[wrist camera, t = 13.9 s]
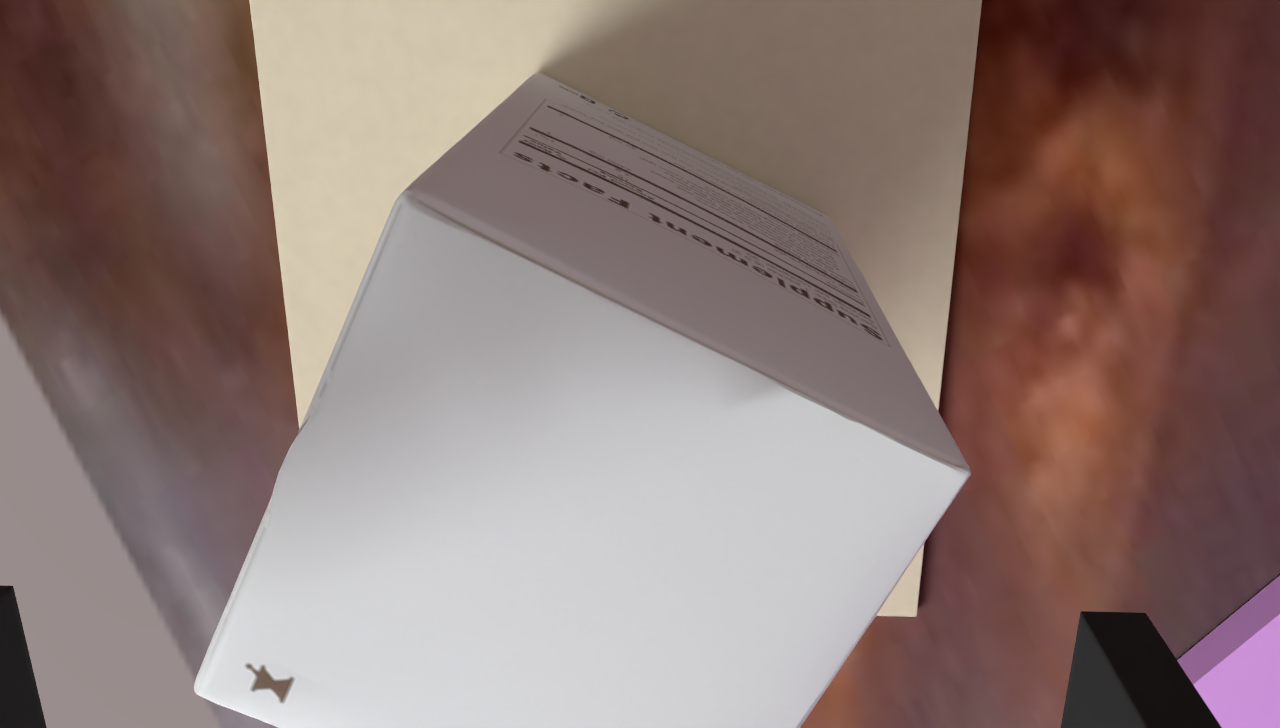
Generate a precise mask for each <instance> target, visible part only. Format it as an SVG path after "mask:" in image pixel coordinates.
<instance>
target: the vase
mask: <svg viewBox="0 0 1280 728" xmlns="http://www.w3.org/2000/svg"><path fill="white" fill-rule="evenodd" d="M1177 661H1178V663H1179V664H1180V666H1181V667H1182V669H1183V670H1184V672H1185V673H1186V675H1187V676H1188V678H1189V679H1190V681H1191V682H1192V684H1193V685H1194V687H1195V688H1196V690H1197V691H1198V693H1199V694H1200V696H1201V697H1202V699H1203V700H1204V702H1205V703H1206V705H1207V706H1208V708H1209V709H1210V711H1211V712H1212V714H1213V715H1214V717H1215V718H1216V720H1217V721H1218V723H1219V724H1220V726H1221V727H1222V728H1280V575H1279V576H1278V577H1277V578H1276V579H1275V580H1273V581H1272V582H1271V583H1270V584H1269V585H1267V586H1266V587H1265V588H1264V589H1263V590H1261V591H1260V592H1259V593H1258V594H1256V595H1255V596H1254V597H1253V598H1252V599H1250V600H1249V601H1248V602H1247V603H1246V604H1244V605H1243V606H1242V607H1241V608H1240V609H1238V610H1237V611H1236V612H1235V613H1234V614H1232V615H1231V616H1230V617H1229V618H1228V619H1226V620H1225V621H1224V622H1223V623H1221V624H1220V625H1219V626H1218V627H1217V628H1215V629H1214V630H1213V631H1212V632H1211V633H1209V634H1208V635H1207V636H1206V637H1205V638H1203V639H1202V640H1201V641H1200V642H1199V643H1197V644H1196V645H1195V646H1194V647H1192V648H1191V649H1190V650H1189V651H1188V652H1186V653H1185V654H1184V655H1183V656H1182V657H1180V658H1179V659H1178V660H1177Z"/></svg>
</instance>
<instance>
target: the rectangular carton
mask: <svg viewBox="0 0 1280 728" xmlns="http://www.w3.org/2000/svg"><path fill="white" fill-rule="evenodd" d="M970 475H971V473H970V468H969V466H968V465H967V463H966V461H965V460H964V458H963V456H962V454H961V452H960V450H959V448H958V447H957V445H956V443H955V441H954V439H953V438H952V436H951V434H950V432H949V430H948V429H947V427H946V425H945V423H944V421H943V419H942V418H941V416H940V414H939V412H938V410H937V409H936V407H935V405H934V403H933V401H932V399H931V398H930V396H929V394H928V392H927V391H926V389H925V387H924V385H923V383H922V382H921V380H920V378H919V376H918V375H917V373H916V371H915V369H914V367H913V365H912V364H911V362H910V360H909V358H908V357H907V355H906V353H905V351H904V349H903V348H902V346H901V344H900V342H899V340H898V339H897V337H896V335H895V333H894V331H893V330H892V328H891V326H890V324H889V322H888V320H887V318H886V317H885V315H884V313H883V311H882V309H881V308H880V306H879V304H878V302H877V300H876V299H875V297H874V295H873V293H872V291H871V290H870V288H869V286H868V284H867V282H866V280H865V279H864V277H863V275H862V273H861V271H860V270H859V268H858V266H857V264H856V263H855V261H854V259H853V257H852V255H851V253H850V252H849V250H848V248H847V246H846V244H845V243H844V241H843V239H842V238H841V236H840V234H839V232H838V230H837V228H836V226H835V224H834V222H833V221H832V219H831V218H829V217H828V216H827V215H825V214H823V213H821V212H819V211H817V210H815V209H813V208H811V207H809V206H807V205H805V204H804V203H802V202H800V201H798V200H796V199H794V198H792V197H789V196H787V195H785V194H783V193H781V192H779V191H777V190H775V189H773V188H771V187H769V186H767V185H765V184H763V183H761V182H759V181H757V180H755V179H753V178H751V177H749V176H747V175H745V174H743V173H741V172H739V171H737V170H735V169H733V168H731V167H729V166H727V165H725V164H723V163H721V162H719V161H717V160H715V159H713V158H711V157H709V156H707V155H705V154H703V153H701V152H699V151H697V150H695V149H693V148H691V147H689V146H687V145H685V144H683V143H681V142H679V141H677V140H675V139H673V138H671V137H669V136H667V135H665V134H663V133H661V132H659V131H657V130H655V129H653V128H651V127H649V126H647V125H645V124H643V123H641V122H639V121H637V120H635V119H633V118H631V117H629V116H627V115H625V114H623V113H621V112H619V111H617V110H615V109H613V108H611V107H609V106H607V105H605V104H603V103H601V102H599V101H597V100H595V99H593V98H591V97H589V96H587V95H585V94H583V93H581V92H579V91H577V90H575V89H573V88H571V87H569V86H567V85H565V84H563V83H561V82H559V81H556V80H554V79H552V78H550V77H548V76H546V75H544V74H542V73H535V74H534V75H532V76H531V77H529V78H528V79H527V80H526V81H525V82H524V83H523V84H522V85H520V86H519V87H518V88H517V89H516V90H515V91H514V92H513V93H512V94H511V95H510V96H509V97H508V98H506V99H505V100H504V101H503V102H502V103H501V104H500V105H498V106H497V107H496V108H495V109H494V110H493V111H492V112H491V113H490V114H488V115H487V116H486V117H485V118H484V119H483V120H482V121H481V122H480V123H478V124H477V125H476V126H475V127H474V128H473V129H472V130H471V131H470V132H468V133H467V134H466V135H465V136H464V137H463V138H462V139H461V140H460V141H458V142H457V143H456V144H455V145H454V146H453V147H451V148H450V149H449V150H448V151H447V152H446V153H445V154H443V155H442V156H441V157H440V158H439V159H438V160H437V161H436V162H435V163H434V164H432V165H431V166H430V167H429V168H428V169H427V170H426V171H424V172H423V173H422V174H421V175H420V176H419V177H418V178H417V179H416V180H415V181H413V182H412V183H411V184H410V185H409V186H408V187H407V188H406V189H405V190H404V191H403V192H402V193H401V194H400V195H399V197H398V198H397V200H396V201H395V203H394V205H393V207H392V210H391V212H390V214H389V216H388V219H387V221H386V223H385V226H384V228H383V231H382V233H381V235H380V238H379V240H378V243H377V245H376V248H375V250H374V252H373V255H372V257H371V260H370V262H369V264H368V267H367V269H366V272H365V274H364V276H363V279H362V281H361V284H360V286H359V289H358V291H357V293H356V296H355V298H354V301H353V303H352V305H351V308H350V310H349V313H348V315H347V317H346V320H345V322H344V325H343V327H342V329H341V332H340V334H339V337H338V339H337V341H336V344H335V346H334V349H333V351H332V353H331V356H330V358H329V361H328V363H327V365H326V368H325V370H324V372H323V375H322V377H321V380H320V382H319V384H318V387H317V389H316V392H315V394H314V396H313V399H312V401H311V404H310V406H309V408H308V411H307V413H306V416H305V418H304V420H303V423H302V425H301V427H300V430H299V432H298V434H297V437H296V438H295V440H294V442H293V443H292V445H291V447H290V449H289V451H288V453H287V455H286V458H285V460H284V462H283V464H282V466H281V469H280V471H279V473H278V477H277V480H276V484H275V487H274V490H273V494H272V497H271V499H270V502H269V504H268V507H267V509H266V511H265V514H264V516H263V519H262V521H261V523H260V526H259V528H258V531H257V533H256V536H255V538H254V540H253V543H252V545H251V548H250V550H249V552H248V555H247V557H246V560H245V562H244V564H243V567H242V569H241V572H240V574H239V577H238V579H237V581H236V584H235V586H234V589H233V591H232V594H231V596H230V598H229V601H228V603H227V605H226V608H225V610H224V612H223V615H222V617H221V619H220V621H219V624H218V626H217V628H216V631H215V633H214V636H213V638H212V641H211V643H210V645H209V648H208V650H207V653H206V655H205V658H204V660H203V663H202V665H201V668H200V670H199V672H198V675H197V678H196V681H195V685H194V690H195V692H196V694H197V695H199V696H201V697H203V698H205V699H208V700H210V701H212V702H214V703H216V704H219V705H221V706H224V707H227V708H229V709H232V710H235V711H237V712H240V713H243V714H245V715H248V716H251V717H253V718H256V719H258V720H261V721H264V722H266V723H269V724H271V725H274V726H276V727H279V728H800V727H801V726H802V724H803V723H804V721H805V720H806V718H807V717H808V715H809V714H810V712H811V711H812V709H813V708H814V706H815V705H816V703H817V702H818V701H819V699H820V698H821V696H822V695H823V693H824V692H825V690H826V689H827V687H828V686H829V684H830V683H831V681H832V680H833V678H834V677H835V675H836V674H837V672H838V671H839V669H840V668H841V667H842V665H843V664H844V662H845V661H846V659H847V658H848V656H849V655H850V653H851V652H852V650H853V649H854V647H855V646H856V644H857V643H858V641H859V640H860V638H861V637H862V636H863V634H864V633H865V631H866V630H867V628H868V627H869V625H870V624H871V622H872V621H873V619H874V618H875V616H876V615H877V613H878V612H879V610H880V609H881V607H882V606H883V604H884V603H885V601H886V600H887V598H888V597H889V595H890V594H891V592H892V591H893V589H894V588H895V586H896V585H897V583H898V582H899V580H900V579H901V577H902V576H903V574H904V573H905V571H906V569H907V568H908V566H909V565H910V563H911V562H912V560H913V559H914V557H915V556H916V554H917V553H918V551H919V550H920V548H921V547H922V545H923V544H924V542H925V541H926V539H927V538H928V536H929V535H930V533H931V532H932V530H933V529H934V528H935V526H936V525H937V523H938V522H939V520H940V519H941V517H942V516H943V514H944V513H945V511H946V510H947V508H948V507H949V505H950V504H951V502H952V501H953V500H954V498H955V497H956V495H957V494H958V492H959V491H960V489H961V488H962V487H963V485H964V484H965V482H966V481H967V479H968V478H969V476H970Z"/></svg>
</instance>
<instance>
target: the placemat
mask: <svg viewBox="0 0 1280 728" xmlns="http://www.w3.org/2000/svg"><path fill="white" fill-rule="evenodd" d="M981 6H982V0H250V8H251V17H252V25H253V34H254V42H255V51H256V60H257V68H258V77H259V85H260V94H261V103H262V111H263V120H264V128H265V137H266V146H267V154H268V163H269V171H270V180H271V189H272V197H273V206H274V214H275V223H276V232H277V240H278V249H279V257H280V266H281V275H282V283H283V292H284V300H285V309H286V318H287V326H288V335H289V344H290V352H291V361H292V369H293V378H294V387H295V395H296V404H297V412H298V421H299V430H300V427H301V425H302V423H303V420H304V418H305V416H306V413H307V411H308V408H309V406H310V404H311V401H312V399H313V396H314V394H315V392H316V389H317V387H318V384H319V382H320V380H321V377H322V375H323V372H324V370H325V368H326V365H327V363H328V361H329V358H330V356H331V353H332V351H333V349H334V346H335V344H336V341H337V339H338V337H339V334H340V332H341V329H342V327H343V325H344V322H345V320H346V317H347V315H348V313H349V310H350V308H351V305H352V303H353V301H354V298H355V296H356V293H357V291H358V289H359V286H360V284H361V281H362V279H363V276H364V274H365V272H366V269H367V267H368V264H369V262H370V260H371V257H372V255H373V252H374V250H375V248H376V245H377V243H378V240H379V238H380V235H381V233H382V231H383V228H384V226H385V223H386V221H387V219H388V216H389V214H390V212H391V210H392V207H393V205H394V203H395V201H396V200H397V198H398V197H399V195H400V194H401V193H402V192H403V191H404V190H405V189H406V188H407V187H408V186H409V185H410V184H411V183H412V182H413V181H415V180H416V179H417V178H418V177H419V176H420V175H421V174H422V173H423V172H424V171H426V170H427V169H428V168H429V167H430V166H431V165H432V164H434V163H435V162H436V161H437V160H438V159H439V158H440V157H441V156H442V155H443V154H445V153H446V152H447V151H448V150H449V149H450V148H451V147H453V146H454V145H455V144H456V143H457V142H458V141H460V140H461V139H462V138H463V137H464V136H465V135H466V134H467V133H468V132H470V131H471V130H472V129H473V128H474V127H475V126H476V125H477V124H478V123H480V122H481V121H482V120H483V119H484V118H485V117H486V116H487V115H488V114H490V113H491V112H492V111H493V110H494V109H495V108H496V107H497V106H498V105H500V104H501V103H502V102H503V101H504V100H505V99H506V98H508V97H509V96H510V95H511V94H512V93H513V92H514V91H515V90H516V89H517V88H518V87H519V86H520V85H522V84H523V83H524V82H525V81H526V80H527V79H528V78H529V77H531V76H532V75H534V74H535V73H542V74H544V75H546V76H548V77H550V78H552V79H554V80H556V81H559V82H561V83H563V84H565V85H567V86H569V87H571V88H573V89H575V90H577V91H579V92H581V93H583V94H585V95H587V96H589V97H591V98H593V99H595V100H597V101H599V102H601V103H603V104H605V105H607V106H609V107H611V108H613V109H615V110H617V111H619V112H621V113H623V114H625V115H627V116H629V117H631V118H633V119H635V120H637V121H639V122H641V123H643V124H645V125H647V126H649V127H651V128H653V129H655V130H657V131H659V132H661V133H663V134H665V135H667V136H669V137H671V138H673V139H675V140H677V141H679V142H681V143H683V144H685V145H687V146H689V147H691V148H693V149H695V150H697V151H699V152H701V153H703V154H705V155H707V156H709V157H711V158H713V159H715V160H717V161H719V162H721V163H723V164H725V165H727V166H729V167H731V168H733V169H735V170H737V171H739V172H741V173H743V174H745V175H747V176H749V177H751V178H753V179H755V180H757V181H759V182H761V183H763V184H765V185H767V186H769V187H771V188H773V189H775V190H777V191H779V192H781V193H783V194H785V195H787V196H789V197H792V198H794V199H796V200H798V201H800V202H802V203H804V204H805V205H807V206H809V207H811V208H813V209H815V210H817V211H819V212H821V213H823V214H825V215H827V216H828V217H829V218H831V219H832V221H833V222H834V224H835V226H836V228H837V230H838V232H839V234H840V236H841V238H842V239H843V241H844V243H845V244H846V246H847V248H848V250H849V252H850V253H851V255H852V257H853V259H854V261H855V263H856V264H857V266H858V268H859V270H860V271H861V273H862V275H863V277H864V279H865V280H866V282H867V284H868V286H869V288H870V290H871V291H872V293H873V295H874V297H875V299H876V300H877V302H878V304H879V306H880V308H881V309H882V311H883V313H884V315H885V317H886V318H887V320H888V322H889V324H890V326H891V328H892V330H893V331H894V333H895V335H896V337H897V339H898V340H899V342H900V344H901V346H902V348H903V349H904V351H905V353H906V355H907V357H908V358H909V360H910V362H911V364H912V365H913V367H914V369H915V371H916V373H917V375H918V376H919V378H920V380H921V382H922V383H923V385H924V387H925V389H926V391H927V392H928V394H929V396H930V398H931V399H932V401H933V403H934V405H935V407H936V409H937V410H938V411H939V401H940V392H941V382H942V373H943V364H944V354H945V345H946V335H947V326H948V316H949V307H950V298H951V288H952V279H953V269H954V260H955V251H956V241H957V232H958V222H959V213H960V203H961V194H962V185H963V175H964V166H965V156H966V147H967V138H968V128H969V119H970V109H971V100H972V90H973V81H974V72H975V62H976V53H977V43H978V34H979V25H980V15H981ZM923 552H924V544H923V545H922V547H921V548H920V550H919V551H918V553H917V554H916V556H915V557H914V559H913V560H912V562H911V563H910V565H909V566H908V568H907V569H906V571H905V573H904V574H903V576H902V577H901V579H900V580H899V582H898V583H897V585H896V586H895V588H894V589H893V591H892V592H891V594H890V595H889V597H888V598H887V600H886V601H885V603H884V604H883V606H882V607H881V609H880V610H879V612H878V613H877V615H876V616H913V617H916V616H917V608H918V599H919V590H920V580H921V571H922V561H923Z"/></svg>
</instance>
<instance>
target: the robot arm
mask: <svg viewBox="0 0 1280 728" xmlns="http://www.w3.org/2000/svg"><path fill="white" fill-rule="evenodd" d="M0 728H46V724H45V720H44V715H43V711H42V707H41V703H40V698H39V694H38V690H37V686H36V682H35V677H34V673H33V669H32V664H31V660H30V656H29V652H28V648H27V643H26V640H25V635H24V631H23V626H22V622H21V618H20V614H19V609H18V605H17V601H16V597H15V592H14V588H13V586H0ZM1061 728H1222V727H1221V726H1220V724H1219V723H1218V721H1217V720H1216V718H1215V717H1214V715H1213V714H1212V712H1211V711H1210V709H1209V708H1208V706H1207V705H1206V703H1205V702H1204V700H1203V699H1202V697H1201V696H1200V694H1199V693H1198V691H1197V690H1196V688H1195V687H1194V685H1193V684H1192V682H1191V681H1190V679H1189V678H1188V676H1187V675H1186V673H1185V672H1184V670H1183V669H1182V667H1181V666H1180V664H1179V663H1178V661H1177V660H1176V658H1175V657H1174V655H1173V654H1172V652H1171V651H1170V649H1169V648H1168V646H1167V645H1166V643H1165V642H1164V640H1163V639H1162V637H1161V636H1160V634H1159V633H1158V631H1157V630H1156V628H1155V627H1154V625H1153V624H1152V622H1151V621H1150V619H1149V618H1148V616H1147V615H1146V613H1123V612H1081V613H1080V619H1079V625H1078V631H1077V637H1076V643H1075V648H1074V654H1073V660H1072V666H1071V672H1070V678H1069V683H1068V689H1067V695H1066V701H1065V707H1064V713H1063V718H1062V724H1061Z"/></svg>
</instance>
